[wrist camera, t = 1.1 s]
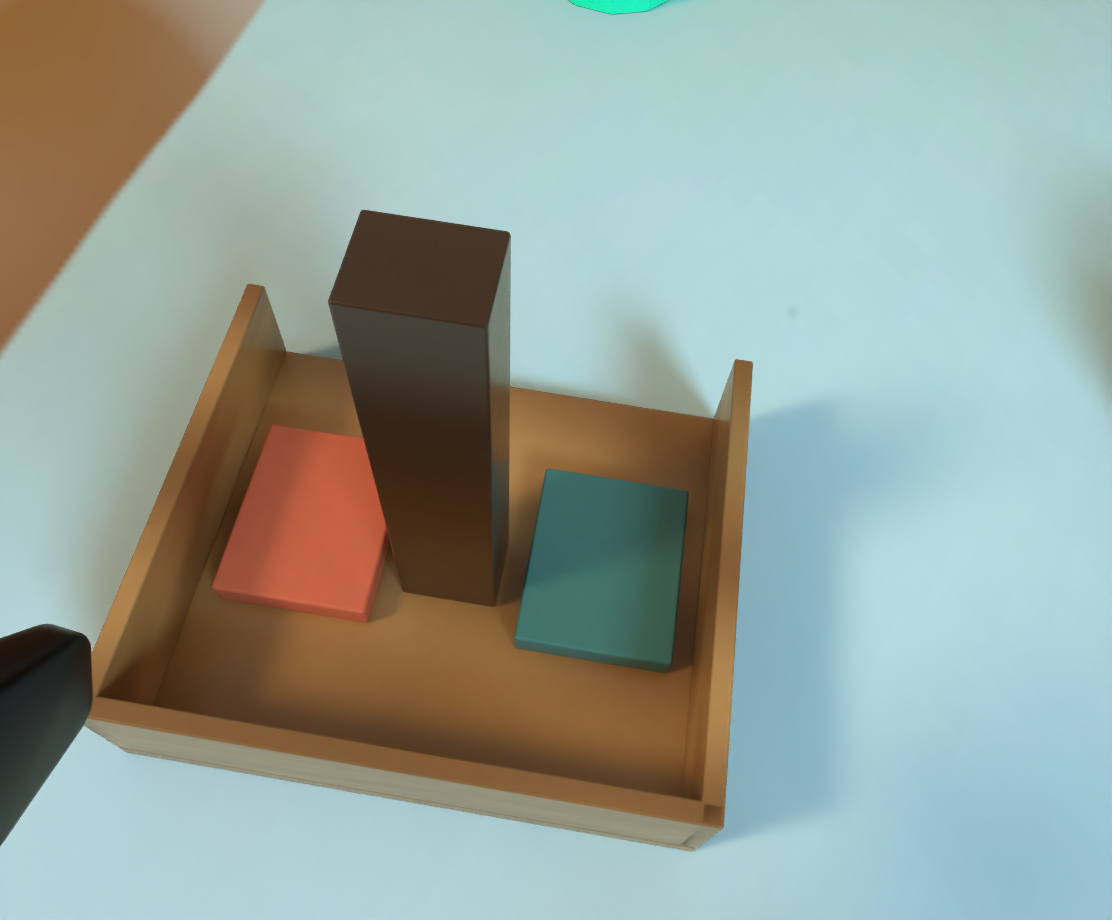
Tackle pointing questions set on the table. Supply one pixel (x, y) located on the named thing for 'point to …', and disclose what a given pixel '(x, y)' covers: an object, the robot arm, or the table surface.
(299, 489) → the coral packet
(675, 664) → the tray
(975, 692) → the table surface
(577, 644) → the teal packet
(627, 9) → the candle
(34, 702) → the robot arm
